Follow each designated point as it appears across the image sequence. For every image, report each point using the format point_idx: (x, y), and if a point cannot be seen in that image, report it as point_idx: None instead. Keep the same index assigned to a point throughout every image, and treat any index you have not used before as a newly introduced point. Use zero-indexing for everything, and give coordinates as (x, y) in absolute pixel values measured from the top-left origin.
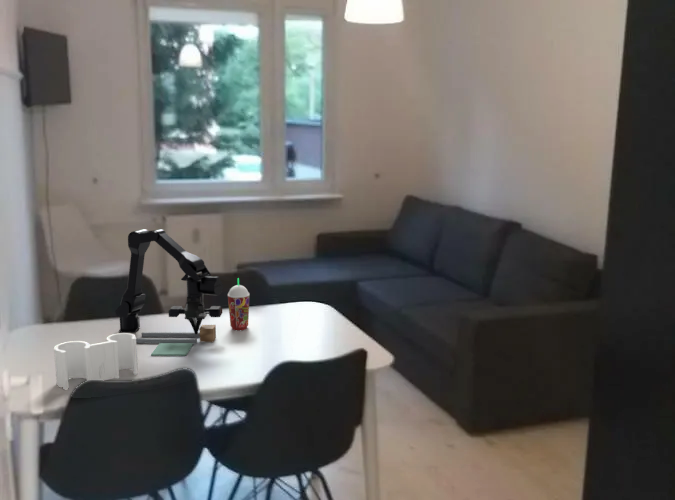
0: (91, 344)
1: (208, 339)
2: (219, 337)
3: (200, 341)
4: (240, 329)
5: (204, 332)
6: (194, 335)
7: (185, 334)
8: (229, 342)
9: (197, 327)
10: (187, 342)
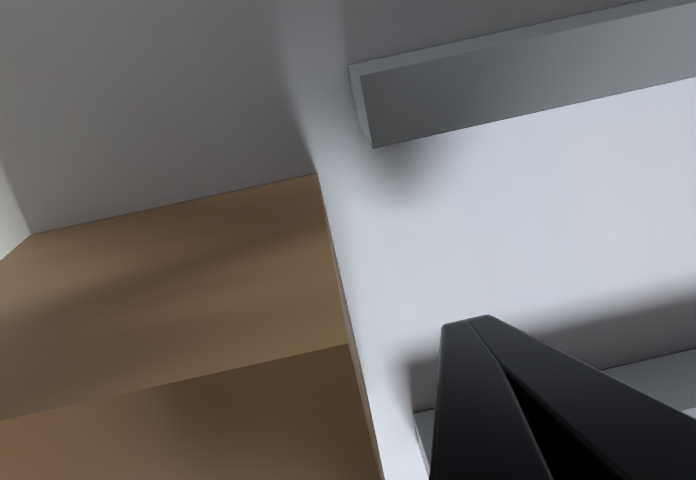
0: None
1: (118, 234)
2: None
3: (304, 179)
4: None
5: (169, 302)
6: None
7: (691, 386)
8: None
9: (478, 445)
10: (559, 19)
